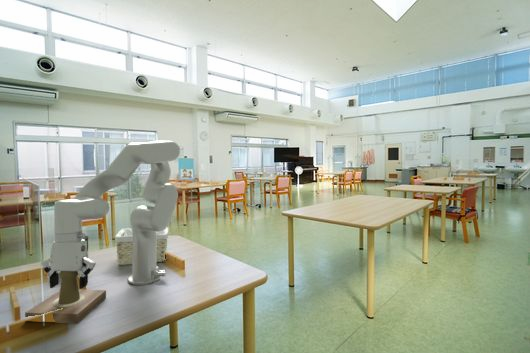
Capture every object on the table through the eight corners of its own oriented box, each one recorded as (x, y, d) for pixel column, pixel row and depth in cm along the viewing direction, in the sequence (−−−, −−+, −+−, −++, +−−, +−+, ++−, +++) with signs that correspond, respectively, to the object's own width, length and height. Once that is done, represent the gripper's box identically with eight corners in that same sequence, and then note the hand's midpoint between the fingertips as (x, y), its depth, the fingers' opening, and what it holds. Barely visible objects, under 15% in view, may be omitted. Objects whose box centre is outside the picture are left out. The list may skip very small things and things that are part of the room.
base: (106, 298, 103) (106, 289, 103) (77, 323, 87) (77, 313, 87) (62, 296, 103) (62, 288, 102) (25, 322, 87) (25, 312, 86)
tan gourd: (68, 305, 91) (68, 272, 90) (53, 303, 92) (53, 270, 92) (84, 296, 97) (84, 265, 96) (69, 294, 98) (69, 264, 98)
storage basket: (113, 266, 132) (113, 236, 132) (121, 255, 148) (121, 227, 147) (167, 263, 139) (167, 234, 138) (168, 252, 155) (169, 226, 154)
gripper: (101, 234, 97) (101, 282, 98) (50, 232, 97) (51, 281, 98) (87, 240, 90) (87, 292, 91) (33, 239, 89) (33, 291, 90)
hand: (68, 286), depth 94 cm, fingers open, 9 cm apart
